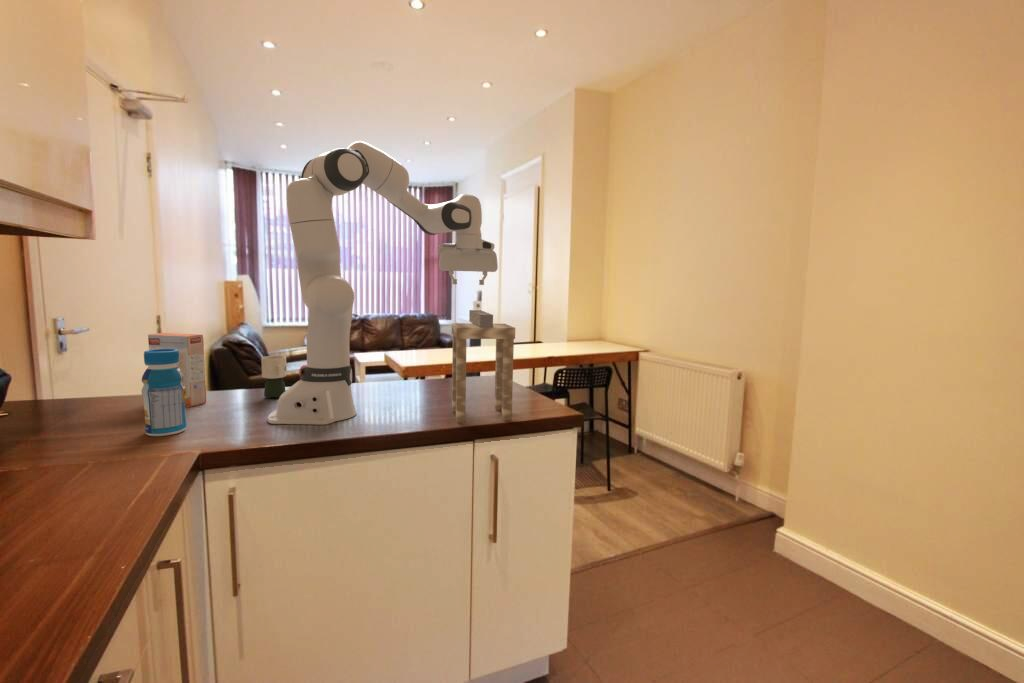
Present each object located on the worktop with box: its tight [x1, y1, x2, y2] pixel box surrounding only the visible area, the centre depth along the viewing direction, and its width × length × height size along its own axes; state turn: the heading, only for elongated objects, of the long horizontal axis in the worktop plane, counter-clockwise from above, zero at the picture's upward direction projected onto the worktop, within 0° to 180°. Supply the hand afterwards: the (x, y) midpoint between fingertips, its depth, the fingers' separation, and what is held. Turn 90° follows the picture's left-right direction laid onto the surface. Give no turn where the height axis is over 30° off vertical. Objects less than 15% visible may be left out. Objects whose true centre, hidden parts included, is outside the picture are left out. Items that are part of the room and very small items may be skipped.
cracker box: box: [147, 332, 207, 408], centre depth 140 cm, size 14×6×21 cm, turn 77°
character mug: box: [260, 355, 288, 399], centre depth 151 cm, size 11×7×13 cm, turn 44°
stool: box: [451, 322, 516, 424], centre depth 135 cm, size 16×14×26 cm
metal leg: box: [468, 309, 494, 328], centre depth 138 cm, size 4×22×4 cm, turn 13°
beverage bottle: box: [141, 349, 187, 437], centre depth 114 cm, size 8×8×20 cm
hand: (468, 284), depth 164 cm, fingers open, 8 cm apart
